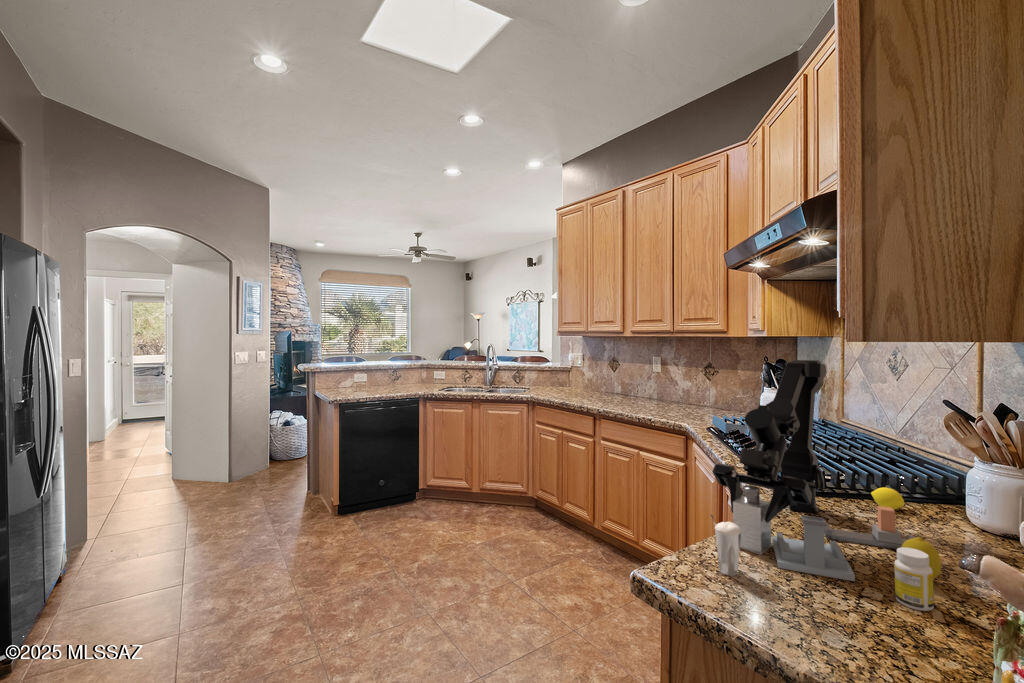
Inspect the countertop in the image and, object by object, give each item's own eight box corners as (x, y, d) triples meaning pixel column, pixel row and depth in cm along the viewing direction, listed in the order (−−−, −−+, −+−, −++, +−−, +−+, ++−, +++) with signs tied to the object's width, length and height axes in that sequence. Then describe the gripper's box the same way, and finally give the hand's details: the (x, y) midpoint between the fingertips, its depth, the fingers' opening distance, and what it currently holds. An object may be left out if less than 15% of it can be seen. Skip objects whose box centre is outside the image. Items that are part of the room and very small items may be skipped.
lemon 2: (893, 578, 82) (892, 534, 83) (910, 572, 85) (909, 529, 85) (931, 593, 77) (930, 546, 77) (948, 586, 80) (947, 540, 80)
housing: (744, 538, 100) (743, 482, 100) (771, 546, 96) (770, 487, 96) (733, 546, 96) (732, 487, 96) (761, 554, 92) (760, 493, 92)
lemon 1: (906, 511, 117) (909, 491, 116) (898, 516, 114) (901, 495, 113) (874, 500, 122) (877, 481, 122) (865, 504, 120) (868, 484, 119)
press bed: (772, 541, 98) (771, 495, 98) (838, 551, 93) (838, 503, 93) (778, 568, 86) (777, 516, 86) (855, 582, 81) (854, 526, 81)
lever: (872, 533, 99) (871, 504, 99) (895, 536, 98) (894, 506, 98) (878, 540, 95) (877, 510, 95) (902, 544, 94) (901, 513, 94)
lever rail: (823, 532, 103) (823, 523, 103) (913, 544, 96) (913, 535, 96) (826, 538, 99) (826, 529, 99) (920, 552, 92) (920, 542, 92)
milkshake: (716, 562, 89) (715, 511, 89) (745, 571, 85) (744, 518, 85) (707, 570, 86) (706, 517, 86) (736, 580, 82) (735, 525, 82)
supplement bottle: (918, 596, 76) (917, 546, 77) (942, 612, 72) (940, 559, 72) (887, 595, 77) (886, 545, 77) (909, 611, 72) (908, 558, 72)
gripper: (715, 428, 106) (693, 485, 98) (806, 440, 92) (788, 507, 84) (730, 456, 111) (710, 512, 104) (819, 472, 97) (803, 538, 90)
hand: (749, 516), depth 95 cm, fingers open, 6 cm apart
